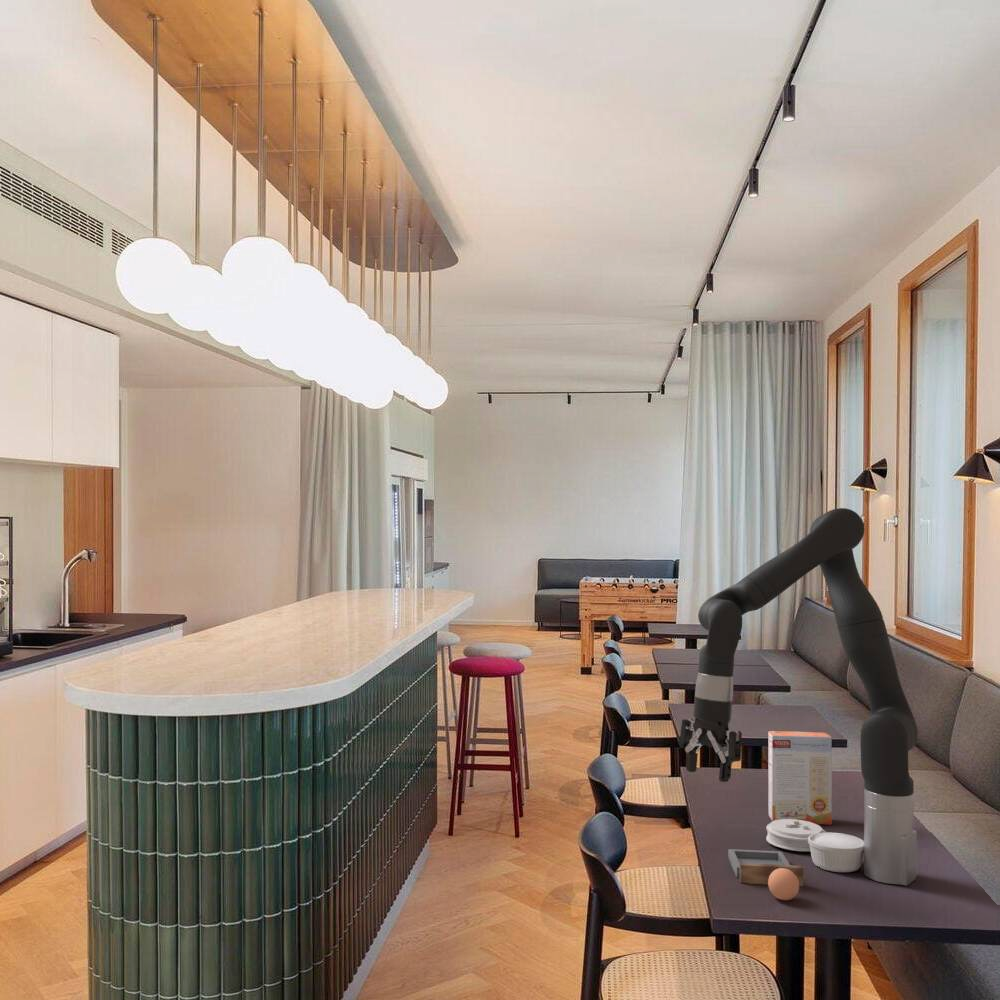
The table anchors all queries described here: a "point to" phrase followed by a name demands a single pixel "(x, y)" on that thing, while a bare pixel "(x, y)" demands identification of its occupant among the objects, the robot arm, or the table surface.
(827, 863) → the ramekin
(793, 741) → the cracker box
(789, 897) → the ball
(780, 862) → the tray
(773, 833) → the lid
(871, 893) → the table surface
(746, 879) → the wall
